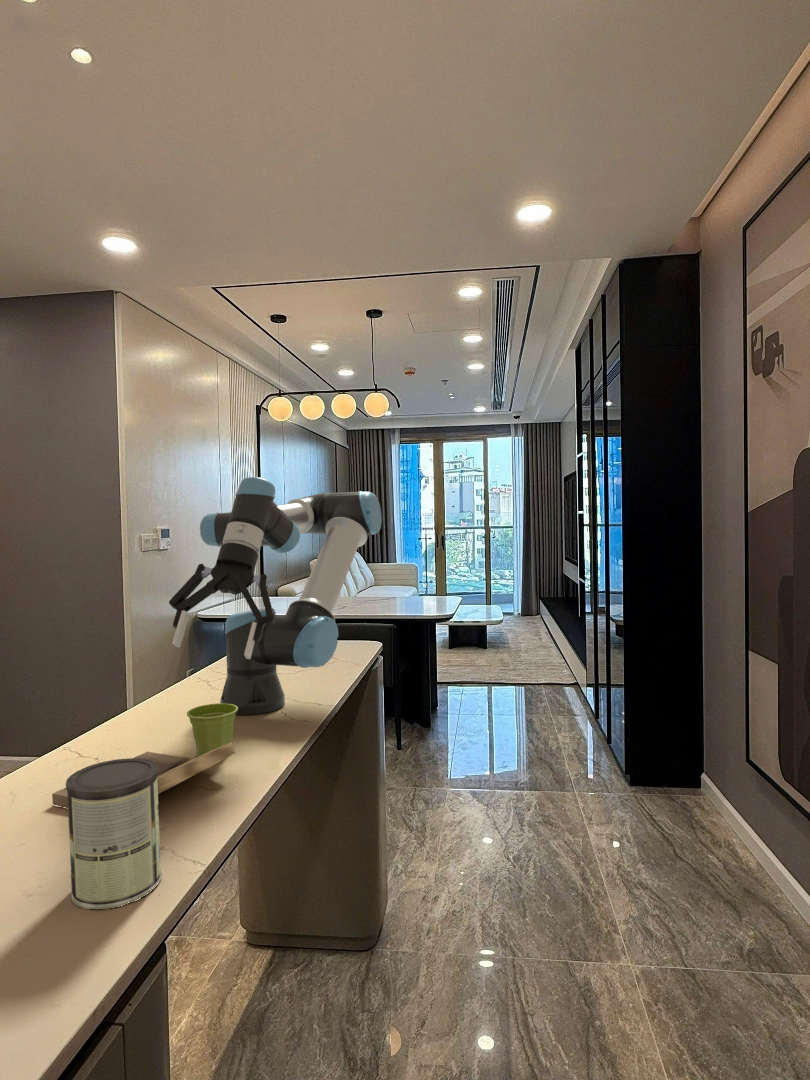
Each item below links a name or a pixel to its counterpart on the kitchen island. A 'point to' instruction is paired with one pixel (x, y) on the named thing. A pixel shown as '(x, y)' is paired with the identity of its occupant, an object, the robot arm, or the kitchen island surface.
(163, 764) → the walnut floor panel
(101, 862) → the coffee can
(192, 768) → the oak plank
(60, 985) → the kitchen island surface
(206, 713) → the plant pot
